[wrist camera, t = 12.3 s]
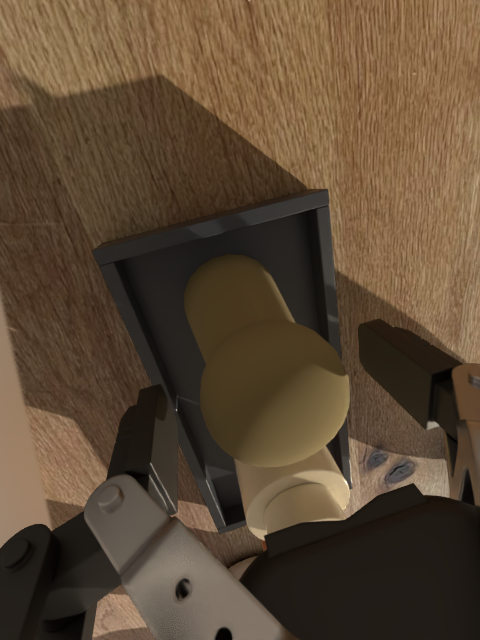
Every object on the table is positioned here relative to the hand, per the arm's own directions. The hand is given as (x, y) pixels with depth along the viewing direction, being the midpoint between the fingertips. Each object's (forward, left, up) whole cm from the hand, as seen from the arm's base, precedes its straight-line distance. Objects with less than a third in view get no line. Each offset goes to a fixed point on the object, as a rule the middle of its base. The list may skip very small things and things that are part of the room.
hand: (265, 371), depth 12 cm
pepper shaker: (0, 0, -8) cm, 8 cm away
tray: (+6, -4, -9) cm, 12 cm away
